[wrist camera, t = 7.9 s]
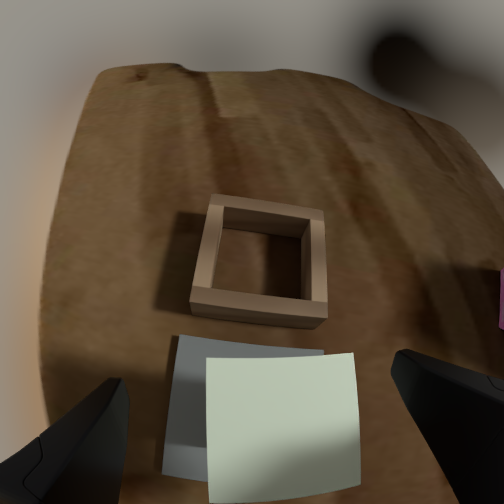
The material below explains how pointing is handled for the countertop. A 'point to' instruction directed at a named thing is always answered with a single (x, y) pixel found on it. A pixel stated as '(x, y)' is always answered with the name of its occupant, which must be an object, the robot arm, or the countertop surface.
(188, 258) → the countertop surface
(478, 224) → the countertop surface
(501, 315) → the gum box
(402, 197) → the countertop surface
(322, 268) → the walnut holder
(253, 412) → the sage block
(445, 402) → the robot arm
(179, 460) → the rubber mat
